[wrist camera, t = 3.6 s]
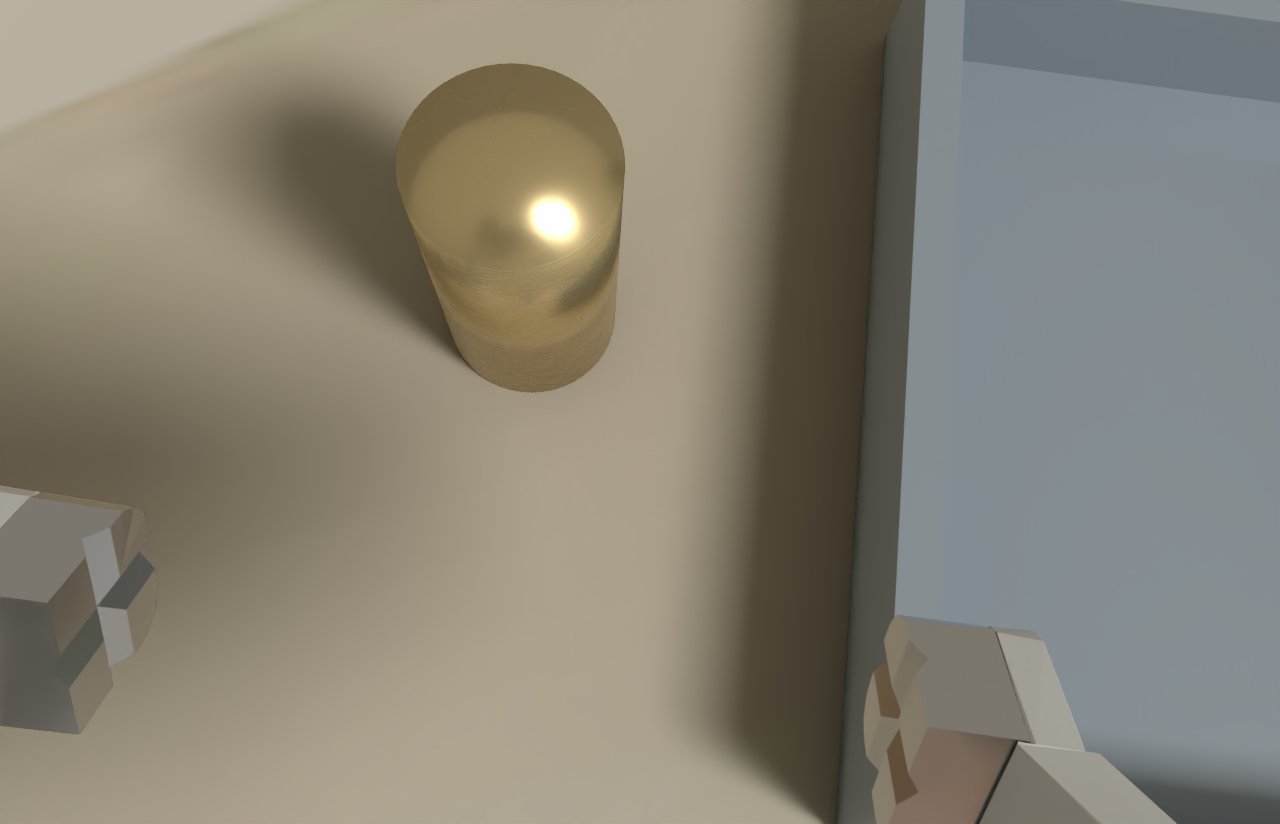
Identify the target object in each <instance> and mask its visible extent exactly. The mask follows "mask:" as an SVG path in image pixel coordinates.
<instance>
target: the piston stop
mask: <svg viewBox="0 0 1280 824" xmlns="http://www.w3.org/2000/svg"><path fill="white" fill-rule="evenodd" d="M624 174H625V157H624V149H623V145H622V140H621V137H620V134H619V132H618V129H617V127H616V125H615V123H614V121H613V119H612V117H611V116H610V114H609V113H608V111H607V110H606V109H605V107H604V106H603V105H602V103H601V102H600V101H599V100H598V99H597V98H596V97H595V96H594V95H593V94H592V93H591V92H589V91H588V90H587V89H586V88H584V87H583V86H582V85H580V84H579V83H577V82H575V81H574V80H572V79H570V78H569V77H567V76H564V75H562V74H560V73H558V72H555V71H552V70H549V69H546V68H543V67H538V66H532V65H526V64H496V65H490V66H484V67H480V68H477V69H473V70H470V71H467V72H465V73H462V74H460V75H457V76H455V77H454V78H452V79H450V80H448V81H446V82H444V83H443V84H442V85H440V86H439V87H437V88H436V89H435V90H433V91H432V92H431V93H430V94H429V95H428V96H427V97H426V98H425V99H424V100H423V101H422V102H421V103H420V104H419V105H418V107H417V108H416V109H415V110H414V112H413V113H412V115H411V116H410V118H409V120H408V121H407V123H406V125H405V127H404V130H403V132H402V134H401V137H400V141H399V144H398V148H397V154H396V179H397V185H398V190H399V193H400V196H401V199H402V202H403V205H404V208H405V210H406V213H407V216H408V218H409V221H410V224H411V226H412V229H413V232H414V234H415V237H416V240H417V242H418V245H419V248H420V251H421V253H422V256H423V259H424V261H425V264H426V267H427V269H428V272H429V275H430V277H431V280H432V283H433V285H434V288H435V291H436V293H437V296H438V299H439V301H440V304H441V307H442V310H443V312H444V315H445V318H446V320H447V323H448V326H449V328H450V331H451V334H452V336H453V339H454V342H455V344H456V346H457V348H458V350H459V352H460V354H461V355H462V357H463V358H464V360H465V361H466V362H467V363H468V364H469V366H470V367H471V368H472V369H473V370H474V371H476V372H477V373H478V374H479V375H480V376H482V377H483V378H485V379H486V380H488V381H489V382H491V383H494V384H496V385H498V386H500V387H503V388H506V389H509V390H514V391H519V392H544V391H549V390H554V389H557V388H560V387H563V386H565V385H568V384H570V383H572V382H574V381H575V380H577V379H579V378H580V377H582V376H583V375H584V374H586V373H587V372H588V371H589V370H590V369H591V368H592V367H593V366H594V365H595V364H596V363H597V362H598V361H599V359H600V358H601V357H602V355H603V354H604V352H605V350H606V348H607V346H608V344H609V342H610V339H611V336H612V333H613V328H614V321H615V306H616V292H617V277H618V262H619V247H620V233H621V218H622V203H623V188H624Z"/></svg>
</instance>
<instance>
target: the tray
mask: <svg viewBox="0 0 1280 824" xmlns="http://www.w3.org/2000/svg"><path fill="white" fill-rule="evenodd" d="M896 614H897V615H905V616H912V617H920V618H927V619H935V620H942V621H949V622H957V623H964V624H972V625H979V626H985V627H989V626H994V627H1002V628H1010V629H1018V630H1026V631H1035V632H1036V633H1037V634H1038V635H1040V636H1041V637H1042V638H1043V641H1044V643H1045V646H1046V648H1047V651H1048V654H1049V656H1050V659H1051V661H1052V664H1053V667H1054V669H1055V672H1056V675H1057V677H1058V680H1059V682H1060V685H1061V688H1062V690H1063V693H1064V696H1065V698H1066V701H1067V703H1068V706H1069V709H1070V711H1071V714H1072V717H1073V719H1074V722H1075V724H1076V727H1077V730H1078V732H1079V735H1080V737H1081V740H1082V743H1083V745H1084V748H1085V751H1086V752H1092V753H1099V754H1101V755H1102V756H1103V757H1104V758H1105V759H1106V760H1107V761H1108V762H1110V763H1111V764H1112V765H1113V766H1114V767H1115V768H1116V769H1117V770H1118V771H1119V772H1121V773H1122V774H1123V775H1124V776H1125V777H1126V778H1127V779H1128V780H1129V781H1130V782H1132V783H1133V784H1134V785H1135V786H1136V787H1137V788H1138V789H1139V790H1140V791H1142V792H1143V793H1144V794H1145V795H1146V796H1147V797H1148V798H1149V799H1150V800H1151V801H1153V802H1154V803H1155V804H1156V805H1157V806H1158V807H1159V808H1160V809H1161V810H1162V811H1164V812H1165V813H1166V814H1167V815H1168V816H1169V817H1170V818H1171V819H1172V820H1173V821H1175V822H1176V823H1177V824H1280V0H902V3H901V5H900V7H899V9H898V11H897V14H896V16H895V18H894V20H893V23H892V25H891V27H890V29H889V31H888V34H887V36H886V38H885V53H884V69H883V85H882V101H881V117H880V134H879V150H878V166H877V182H876V198H875V214H874V230H873V246H872V262H871V278H870V294H869V310H868V326H867V342H866V358H865V374H864V390H863V406H862V422H861V438H860V454H859V470H858V486H857V502H856V518H855V534H854V550H853V566H852V582H851V598H850V614H849V630H848V646H847V662H846V678H845V694H844V710H843V726H842V742H841V758H840V774H839V790H838V806H837V822H836V824H876V818H875V811H874V805H873V798H872V789H873V787H874V784H875V781H876V778H877V776H878V773H879V771H878V770H877V768H876V767H875V766H874V765H873V764H872V763H871V762H870V760H869V759H868V758H867V757H866V749H865V742H864V710H865V703H866V695H867V691H868V687H869V684H870V681H871V677H872V674H873V671H874V670H875V669H877V668H878V667H880V666H881V665H883V664H884V663H886V662H887V657H886V651H885V645H884V639H885V636H886V633H887V630H888V628H889V625H890V623H891V621H892V620H893V619H894V617H895V616H896Z"/></svg>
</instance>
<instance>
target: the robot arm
mask: <svg viewBox="0 0 1280 824" xmlns="http://www.w3.org/2000/svg"><path fill="white" fill-rule="evenodd" d="M149 537H150V536H149V532H148V527H147V522H146V518H145V513H144V512H142V511H141V510H139V509H137V508H136V507H134V506H128V505H122V504H116V503H110V502H103V501H97V500H91V499H85V498H79V497H73V496H67V495H61V494H55V493H49V492H44V493H42V492H37V491H31V490H25V489H19V488H13V487H7V486H1V485H0V726H8V727H17V728H26V729H35V730H44V731H53V732H62V733H71V734H80V733H81V732H82V730H83V729H84V728H85V726H86V725H87V723H88V722H89V720H90V719H91V717H92V716H93V714H94V713H95V711H96V710H97V708H98V707H99V706H100V704H101V703H102V701H103V700H104V698H105V697H106V695H107V694H108V692H109V691H110V689H111V688H112V686H113V682H112V677H111V672H110V667H111V666H113V665H115V664H117V663H119V662H121V661H122V660H124V659H126V658H128V657H130V656H132V655H133V654H135V652H136V651H137V649H138V648H139V646H140V644H141V643H142V641H143V640H144V638H145V637H146V635H147V634H148V631H149V628H150V625H151V622H152V619H153V616H154V613H155V610H156V604H157V590H158V586H157V579H156V572H155V569H154V567H153V566H152V565H151V564H150V563H149V562H148V561H147V560H146V559H145V558H144V557H143V556H142V555H141V554H140V552H139V551H140V550H141V548H142V547H143V545H144V544H145V543H146V541H147V540H148V539H149ZM884 645H885V651H886V657H887V662H886V663H884V664H883V665H881V666H880V667H878V668H877V669H875V670H874V671H873V674H872V677H871V681H870V684H869V687H868V691H867V695H866V703H865V710H864V742H865V749H866V757H867V758H868V759H869V760H870V762H871V763H872V764H873V765H874V766H875V767H876V768H877V770H878V771H879V773H878V776H877V778H876V781H875V784H874V787H873V789H872V798H873V805H874V811H875V818H876V824H1177V823H1176V822H1175V821H1173V820H1172V819H1171V818H1170V817H1169V816H1168V815H1167V814H1166V813H1165V812H1164V811H1162V810H1161V809H1160V808H1159V807H1158V806H1157V805H1156V804H1155V803H1154V802H1153V801H1151V800H1150V799H1149V798H1148V797H1147V796H1146V795H1145V794H1144V793H1143V792H1142V791H1140V790H1139V789H1138V788H1137V787H1136V786H1135V785H1134V784H1133V783H1132V782H1130V781H1129V780H1128V779H1127V778H1126V777H1125V776H1124V775H1123V774H1122V773H1121V772H1119V771H1118V770H1117V769H1116V768H1115V767H1114V766H1113V765H1112V764H1111V763H1110V762H1108V761H1107V760H1106V759H1105V758H1104V757H1103V756H1102V755H1101V754H1099V753H1092V752H1086V751H1085V748H1084V745H1083V743H1082V740H1081V737H1080V735H1079V732H1078V730H1077V727H1076V724H1075V722H1074V719H1073V717H1072V714H1071V711H1070V709H1069V706H1068V703H1067V701H1066V698H1065V696H1064V693H1063V690H1062V688H1061V685H1060V682H1059V680H1058V677H1057V675H1056V672H1055V669H1054V667H1053V664H1052V661H1051V659H1050V656H1049V654H1048V651H1047V648H1046V646H1045V643H1044V641H1043V638H1042V637H1041V636H1040V635H1038V634H1037V633H1036V632H1035V631H1026V630H1018V629H1010V628H1002V627H994V626H989V627H985V626H979V625H972V624H964V623H957V622H949V621H942V620H935V619H927V618H920V617H912V616H905V615H897V614H896V616H895V617H894V619H893V620H892V621H891V623H890V625H889V628H888V630H887V633H886V636H885V639H884Z"/></svg>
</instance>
